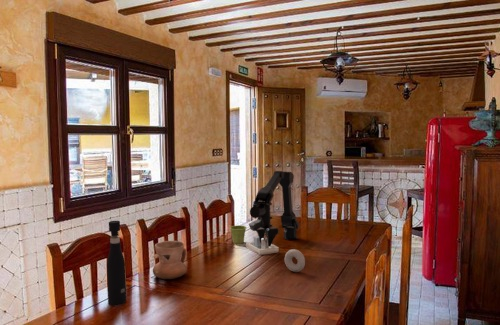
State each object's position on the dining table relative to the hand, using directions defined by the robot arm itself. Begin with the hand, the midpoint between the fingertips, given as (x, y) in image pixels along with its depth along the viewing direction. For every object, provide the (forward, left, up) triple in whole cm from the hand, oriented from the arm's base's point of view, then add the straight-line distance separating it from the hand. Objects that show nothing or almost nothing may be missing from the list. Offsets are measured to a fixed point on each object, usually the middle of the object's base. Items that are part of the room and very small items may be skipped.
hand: (265, 244), depth 210 cm
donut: (+3, +33, -4) cm, 34 cm away
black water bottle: (+78, +30, -4) cm, 84 cm away
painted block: (0, -7, -3) cm, 8 cm away
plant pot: (+5, -23, -4) cm, 24 cm away
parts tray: (0, -4, -4) cm, 5 cm away
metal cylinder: (0, 0, -3) cm, 3 cm away
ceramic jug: (+53, +12, -4) cm, 55 cm away
